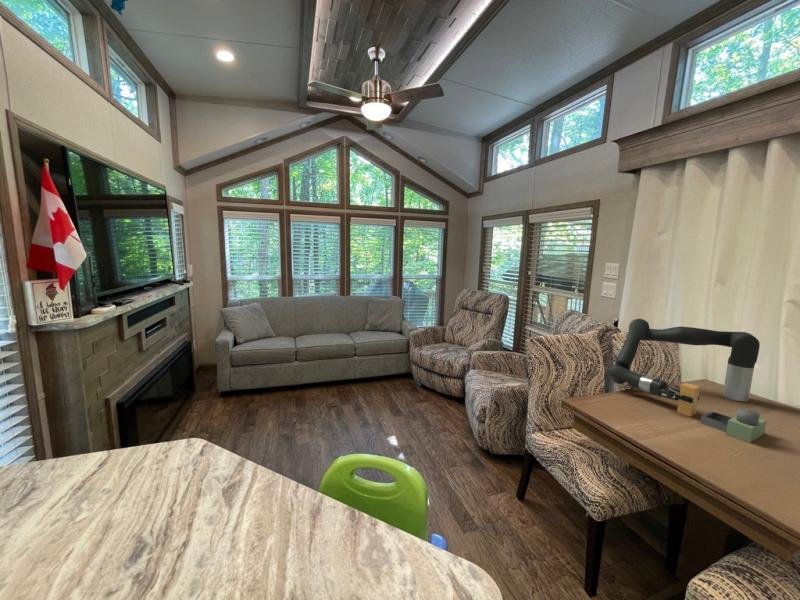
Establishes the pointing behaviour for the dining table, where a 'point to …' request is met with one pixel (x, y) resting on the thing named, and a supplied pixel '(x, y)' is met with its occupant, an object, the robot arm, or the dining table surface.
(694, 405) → the tall orange pillar
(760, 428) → the mower housing
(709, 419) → the dark grey tray
